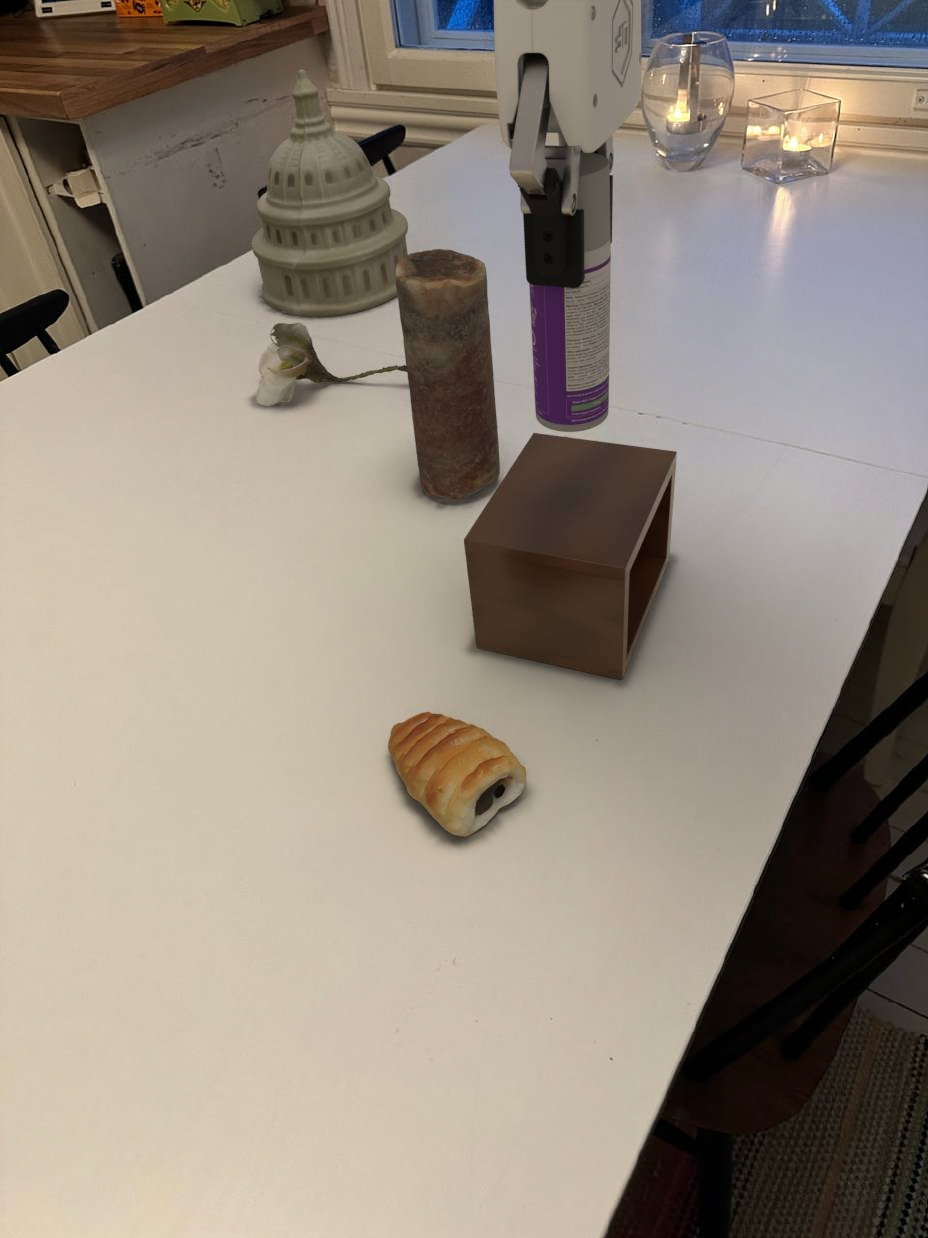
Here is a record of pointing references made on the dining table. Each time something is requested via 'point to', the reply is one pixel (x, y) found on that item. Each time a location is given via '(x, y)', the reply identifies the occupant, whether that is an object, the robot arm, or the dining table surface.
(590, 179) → the container
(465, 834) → the pastry
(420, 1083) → the dining table surface
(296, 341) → the artificial flower
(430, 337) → the brown rounded bar
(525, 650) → the shelf
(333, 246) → the dome
